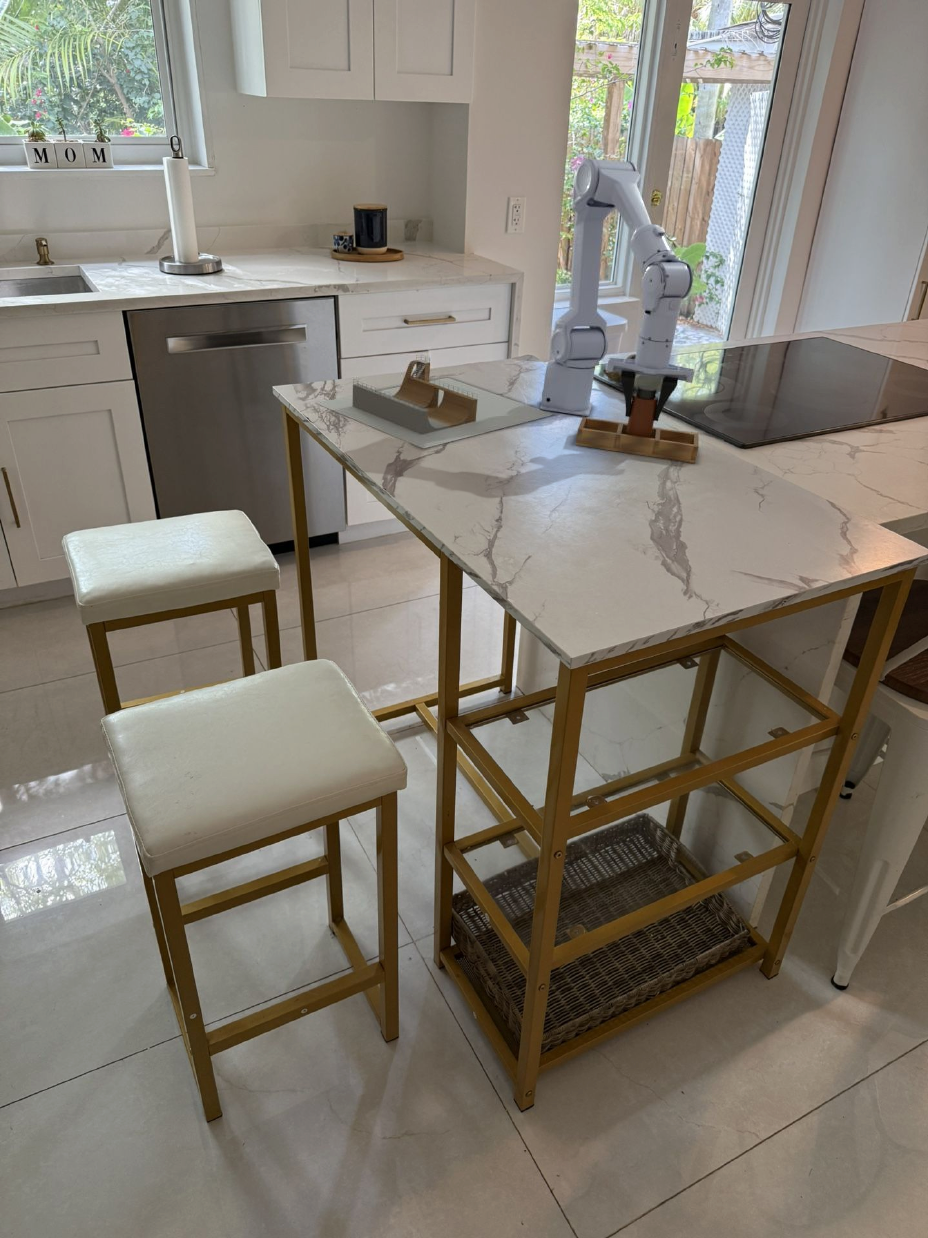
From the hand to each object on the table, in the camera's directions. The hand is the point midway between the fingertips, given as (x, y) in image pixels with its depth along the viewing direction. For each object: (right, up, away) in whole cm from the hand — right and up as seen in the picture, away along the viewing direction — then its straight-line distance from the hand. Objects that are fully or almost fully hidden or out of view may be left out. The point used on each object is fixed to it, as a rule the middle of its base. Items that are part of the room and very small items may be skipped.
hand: (641, 417), depth 155 cm
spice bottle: (0, -2, +1) cm, 3 cm away
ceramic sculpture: (+6, +14, +37) cm, 40 cm away
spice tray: (0, -5, +3) cm, 6 cm away
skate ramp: (-36, +4, +13) cm, 39 cm away
